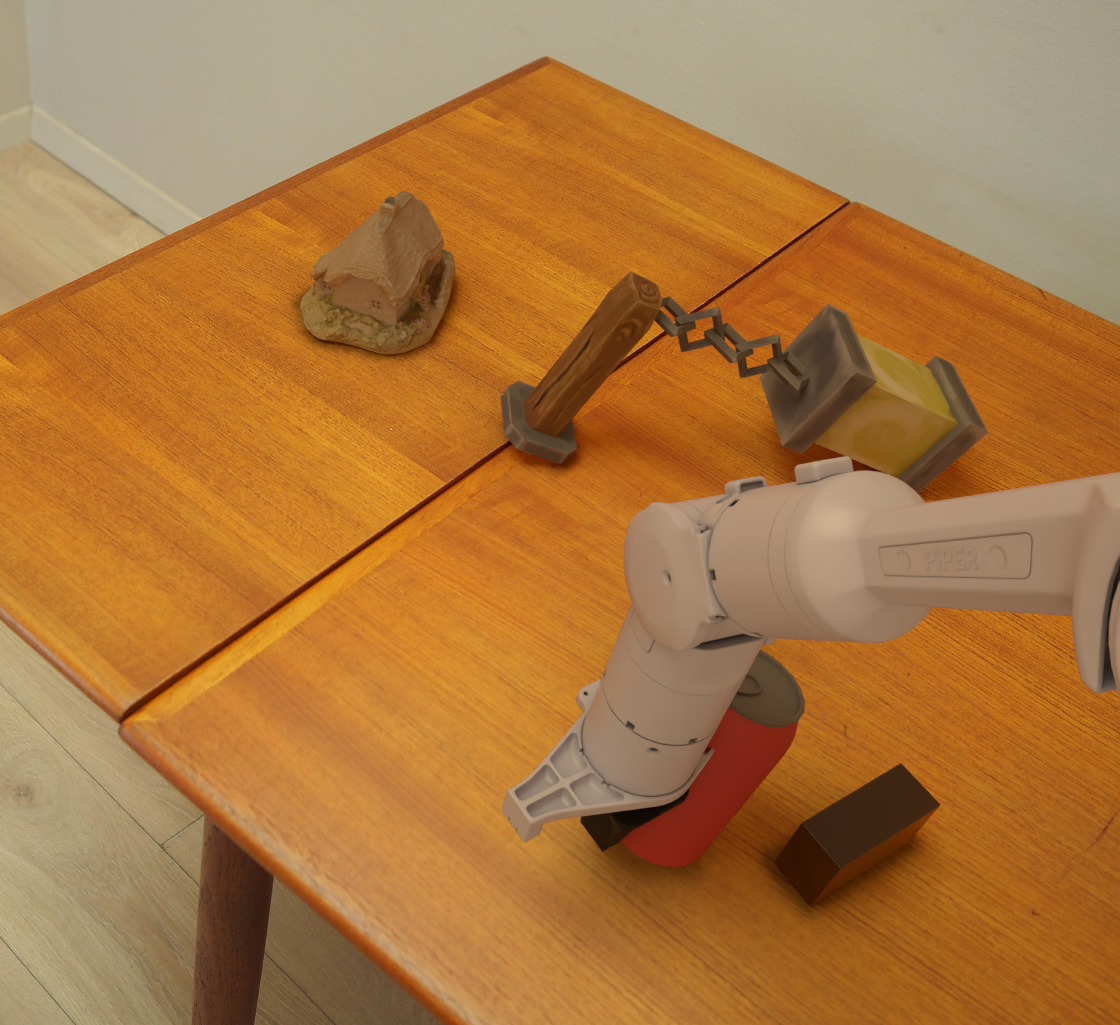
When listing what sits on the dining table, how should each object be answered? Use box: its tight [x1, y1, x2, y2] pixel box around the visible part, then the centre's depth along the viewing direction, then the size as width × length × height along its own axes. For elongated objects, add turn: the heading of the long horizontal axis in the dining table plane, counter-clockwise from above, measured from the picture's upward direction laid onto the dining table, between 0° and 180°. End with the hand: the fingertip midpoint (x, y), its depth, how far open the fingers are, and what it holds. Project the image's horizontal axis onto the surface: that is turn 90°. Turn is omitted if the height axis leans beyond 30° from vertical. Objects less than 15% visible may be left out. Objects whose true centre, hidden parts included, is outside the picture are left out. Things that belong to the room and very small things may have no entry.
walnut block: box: [774, 762, 941, 907], centre depth 65 cm, size 3×8×4 cm, turn 122°
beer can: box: [619, 649, 806, 868], centre depth 62 cm, size 7×7×12 cm
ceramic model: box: [299, 190, 456, 355], centre depth 93 cm, size 14×11×10 cm
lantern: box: [500, 271, 989, 494], centre depth 86 cm, size 8×17×30 cm
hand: (597, 833), depth 63 cm, fingers closed, pressing on beer can
